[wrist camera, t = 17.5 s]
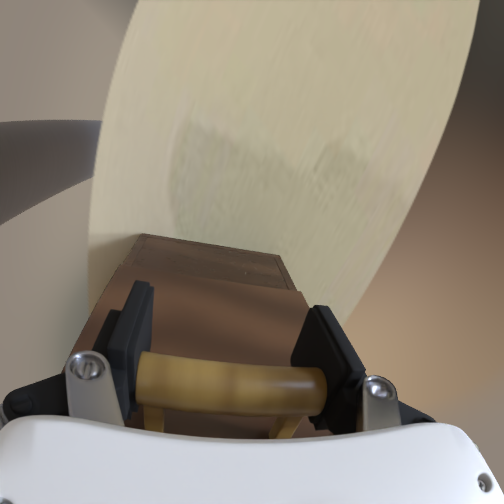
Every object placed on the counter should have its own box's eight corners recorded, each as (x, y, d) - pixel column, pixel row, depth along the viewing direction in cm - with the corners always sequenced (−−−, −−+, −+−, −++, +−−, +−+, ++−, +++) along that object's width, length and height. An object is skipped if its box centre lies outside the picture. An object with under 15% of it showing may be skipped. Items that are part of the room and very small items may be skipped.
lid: (380, 478, 10) (445, 412, 8) (34, 460, 7) (-14, 378, 5) (298, 299, 25) (316, 243, 23) (119, 272, 22) (123, 211, 20)
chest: (248, 363, 38) (256, 408, 30) (136, 348, 35) (125, 393, 28) (279, 255, 32) (298, 292, 25) (141, 233, 29) (121, 266, 22)
